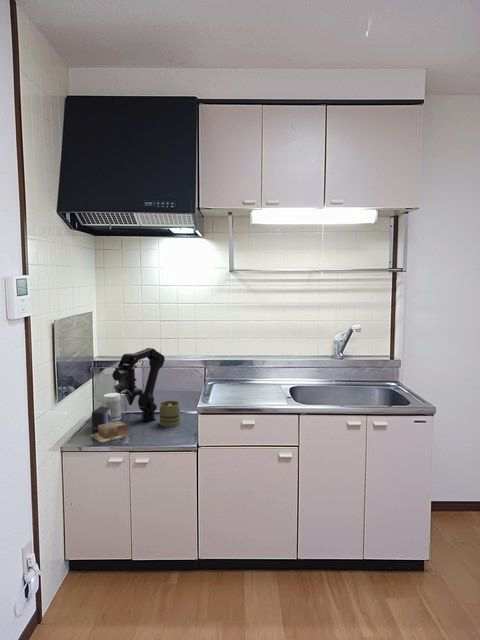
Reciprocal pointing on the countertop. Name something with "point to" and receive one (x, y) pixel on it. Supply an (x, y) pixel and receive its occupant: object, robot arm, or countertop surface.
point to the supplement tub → (113, 405)
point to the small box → (100, 417)
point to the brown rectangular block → (112, 429)
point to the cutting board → (104, 438)
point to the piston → (169, 414)
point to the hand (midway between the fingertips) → (130, 405)
